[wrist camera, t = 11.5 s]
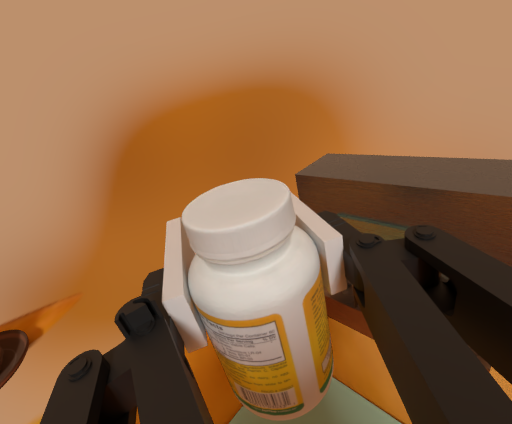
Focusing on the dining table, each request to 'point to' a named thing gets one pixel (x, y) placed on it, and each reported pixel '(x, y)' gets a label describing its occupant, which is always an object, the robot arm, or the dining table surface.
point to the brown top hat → (11, 353)
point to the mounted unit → (411, 205)
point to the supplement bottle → (260, 296)
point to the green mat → (329, 410)
